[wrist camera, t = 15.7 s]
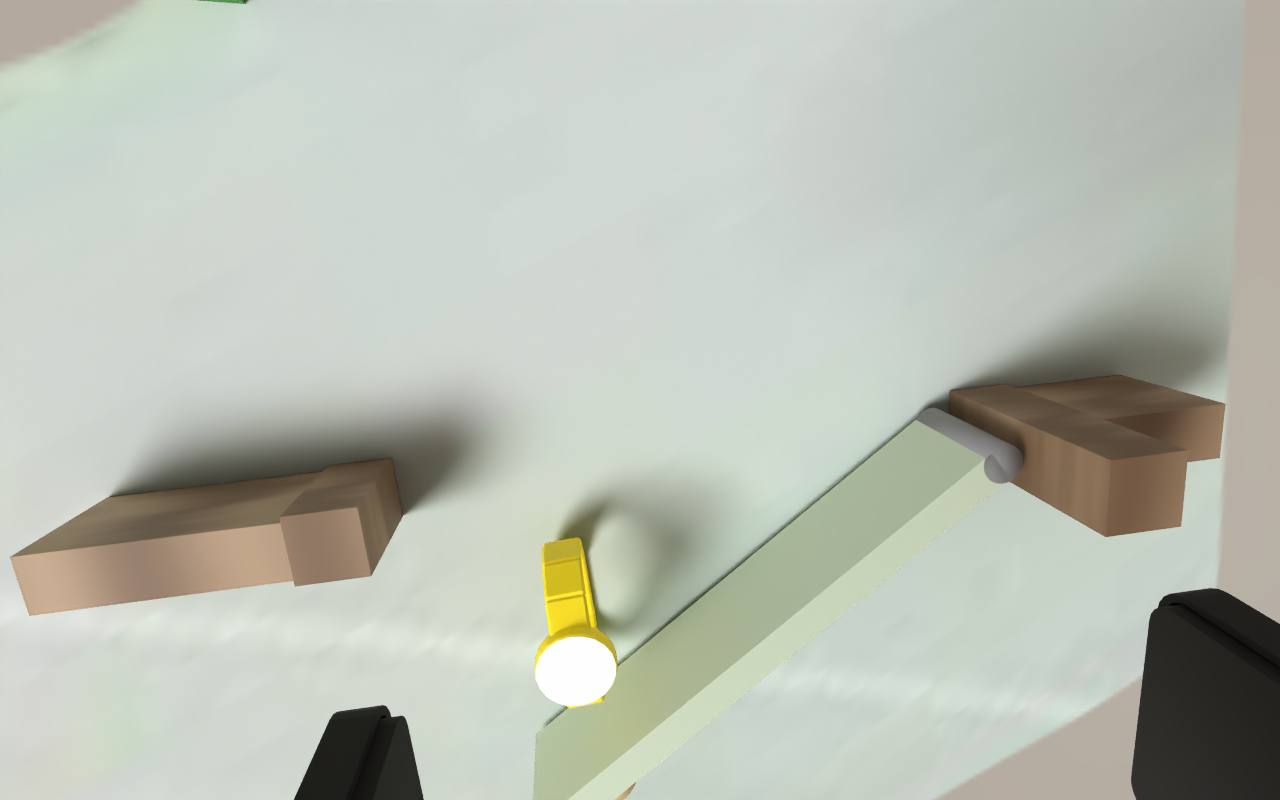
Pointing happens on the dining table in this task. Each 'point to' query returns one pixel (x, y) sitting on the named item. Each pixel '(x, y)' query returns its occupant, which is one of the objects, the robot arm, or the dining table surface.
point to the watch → (572, 632)
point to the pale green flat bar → (773, 605)
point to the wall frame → (370, 512)
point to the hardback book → (228, 1)
